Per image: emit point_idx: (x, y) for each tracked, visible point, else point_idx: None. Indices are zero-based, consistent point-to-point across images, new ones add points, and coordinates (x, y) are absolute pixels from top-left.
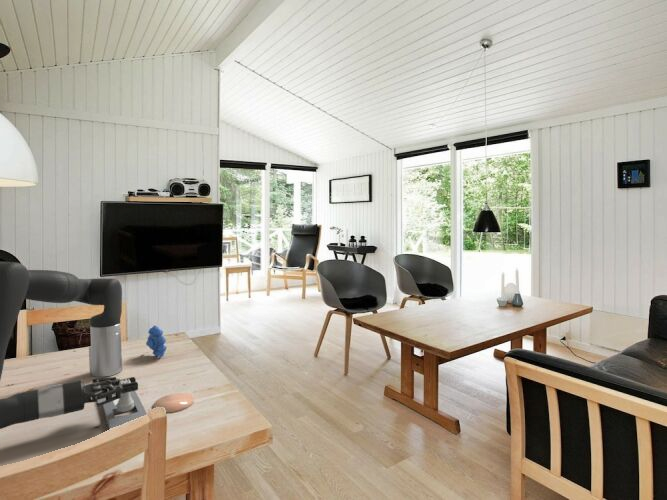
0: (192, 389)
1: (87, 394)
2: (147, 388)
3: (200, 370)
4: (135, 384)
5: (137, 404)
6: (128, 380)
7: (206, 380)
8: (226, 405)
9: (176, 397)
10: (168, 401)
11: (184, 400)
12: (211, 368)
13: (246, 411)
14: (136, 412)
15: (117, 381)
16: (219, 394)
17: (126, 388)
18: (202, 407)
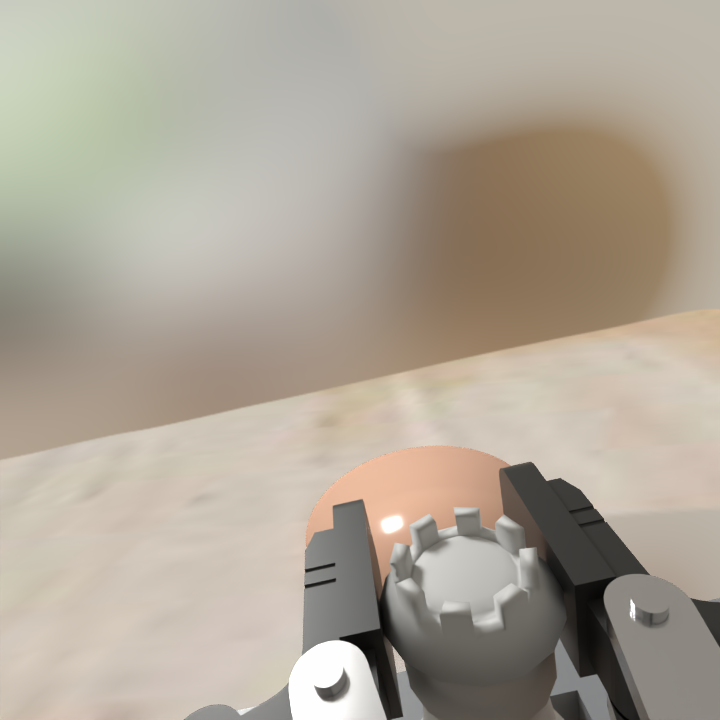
0: (289, 469)
1: None
2: (58, 681)
3: (104, 460)
4: (550, 482)
5: (405, 707)
6: (478, 514)
7: (233, 437)
8: (524, 376)
9: (367, 506)
10: (402, 535)
11: (429, 473)
12: (127, 433)
13: (593, 339)
14: (590, 705)
15: (373, 684)
16: (407, 397)
17: (633, 566)
18: (518, 427)
